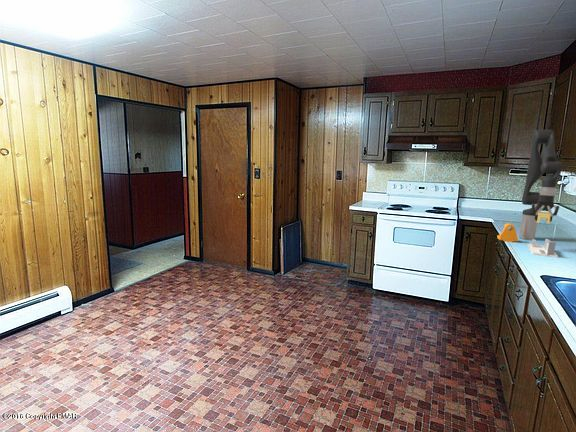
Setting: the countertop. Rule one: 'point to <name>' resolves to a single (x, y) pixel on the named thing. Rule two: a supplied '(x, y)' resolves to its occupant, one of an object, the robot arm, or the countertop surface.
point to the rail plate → (543, 248)
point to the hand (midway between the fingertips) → (542, 221)
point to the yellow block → (544, 216)
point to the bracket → (508, 234)
